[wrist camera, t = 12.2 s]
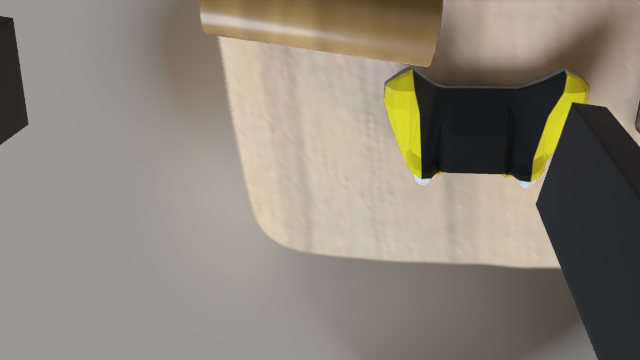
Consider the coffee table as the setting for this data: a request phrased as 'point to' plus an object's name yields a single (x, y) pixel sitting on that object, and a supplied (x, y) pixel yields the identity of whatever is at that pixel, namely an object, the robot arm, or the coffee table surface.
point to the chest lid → (333, 26)
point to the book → (638, 120)
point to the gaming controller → (480, 124)
